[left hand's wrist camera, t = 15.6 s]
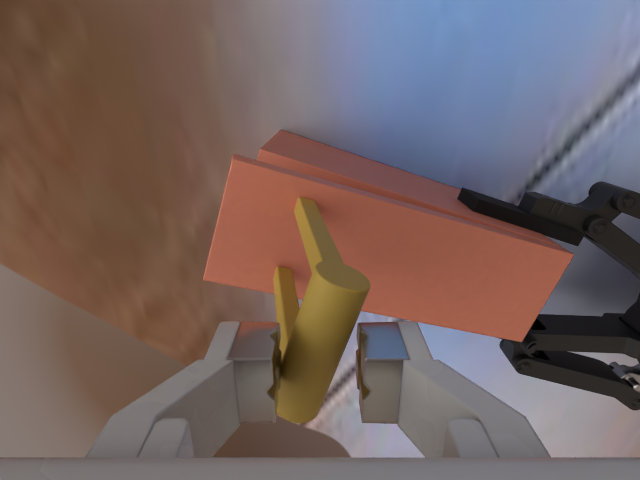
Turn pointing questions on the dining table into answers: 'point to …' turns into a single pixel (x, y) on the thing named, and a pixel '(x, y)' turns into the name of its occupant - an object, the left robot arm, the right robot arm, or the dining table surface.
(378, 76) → the dining table surface
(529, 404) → the dining table surface
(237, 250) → the block with yellow handle
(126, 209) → the dining table surface
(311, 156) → the open box
